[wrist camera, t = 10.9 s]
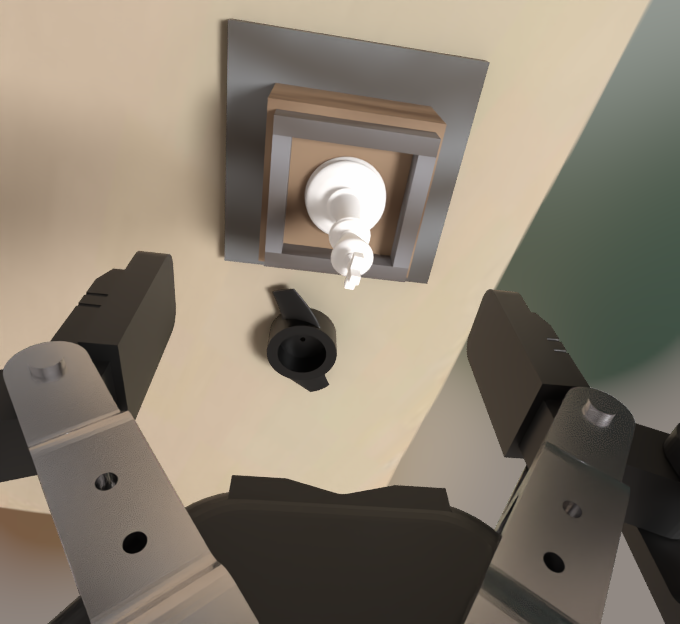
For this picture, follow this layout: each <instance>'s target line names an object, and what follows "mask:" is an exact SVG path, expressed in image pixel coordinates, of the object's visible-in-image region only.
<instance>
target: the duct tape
mask: <svg viewBox="0 0 680 624" xmlns="http://www.w3.org/2000/svg"><path fill="white" fill-rule="evenodd" d="M273 294H274V296H275V299H276V301H277V303H278V306H279V309H280V312H281V314H280V315H279V316H278V317H277V318H276V319H275V320H274V321H273V323H272V325H271V329H270V335H269V341H268V347H267V357H268V361H269V363H270V365H271V366H272V367H273V368H274V370H275V371H277V372H278V373H279V374H281V375H283V376H285V377H287V378H290V379H291V380H293V381H294V382H296V383H298V384H299V385H301V386H302V387H304V388H305V389H307V390H308V391H310V392H313V391H317V390H320V389H323V388H325V387H327V386H328V385H329V383H328V381H327V379H326V377H325V375H324V374H325V373H327V372H328V371H329V370H330V369H331V368H332V367H333V365H334V363H335V361H336V356H337V348H336V330H335V327H334V324H333V323H332V321H331V320H330V319H329V318H328V317H327V316H326V315H325V314H323V313H322V312H320V311H318V310H315V309H312V308H309V306H308V305H307V304H306V302H305V301H304V300H303V299H302V298H301V296H300V295H299V294H298V293H297V292H296V291H295V289H283V290H277V291H273Z"/></svg>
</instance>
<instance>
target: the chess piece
mask: <svg viewBox="0 0 680 624" xmlns="http://www.w3.org/2000/svg"><path fill="white" fill-rule="evenodd" d="M385 203H386V189H385V184H384V182H383V179H382V177H381V175H380V174H379V173H378V171H377V170H376V169H375V168H374V167H373V166H372V165H370V164H369V163H367V162H366V161H364V160H361V159H358V158H354V157H338V158H334V159H331V160H328V161H326V162H325V163H323V164H322V165H320V166H319V167H318V168H317V169H316V170H315V171H314V172H313V173H312V175H311V176H310V178H309V180H308V182H307V185H306V188H305V205H306V208H307V211H308V214H309V216H310V218H311V220H312V221H313V223H314V224H315V225H316V226H317V227H318V228H319V229H320V230H322V231H323V232H325V233H327V234H329V241H330V244H331V246H332V247H333V250H332V253H331V263H332V266H333V268H334V269H335V270H336V271H337V272H338V273H339V274H341V275H343V276H346V278H345V282H344V288H346V289H351V290H354V287H355V285H359V282H360V279H361V275H362V274H364V273H365V272H367V271H368V270H369V268H370V267H371V265H372V263H373V251H372V249H371V247H370V246H369V242H370V237H371V234H370V229H371V228H373V227H374V226H375V225H376V223H377V222H378V221H379V219H380V218H381V216H382V214H383V211H384V208H385Z"/></svg>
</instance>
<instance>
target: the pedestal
mask: <svg viewBox="0 0 680 624" xmlns="http://www.w3.org/2000/svg"><path fill="white" fill-rule="evenodd" d="M489 63H490V62H488V61H485V60H480V59H474V58H468V57H462V56H456V55H449V54H443V53H437V52H431V51H425V50H419V49H413V48H407V47H401V46H395V45H389V44H382V43H376V42H370V41H364V40H358V39H352V38H346V37H340V36H334V35H328V34H322V33H315V32H309V31H303V30H297V29H291V28H285V27H279V26H273V25H267V24H261V23H255V22H249V21H242V20H236V19H228V61H227V129H226V197H225V260H226V261H234V262H243V263H252V264H261V265H264V266H268V267H277V268H286V269H294V270H303V271H312V272H321V273H329V274H338V275H341V274H339V273H338V272H337V271H336V270H335V269H334V268H333V266H332V263H331V253H332V250H333V247H332V246H331V244H330V241H329V234H327V233H325V232H323V231H322V230H320V229H319V228H318V227H317V226H316V225H315V224H314V223H313V221H312V220H311V218H310V216H309V214H308V211H307V208H306V205H305V188H306V185H307V182H308V180H309V178H310V176H311V175H312V173H313V172H314V171H315V170H316V169H317V168H318V167H319V166H320V165H322V164H323V163H325V162H326V161H328V160H331V159H334V158H338V157H354V158H358V159H361V160H364V161H366V162H367V163H369V164H370V165H372V166H373V167H374V168H375V169H376V170H377V171H378V173H379V174H380V175H381V177H382V179H383V182H384V184H385V189H386V203H385V208H384V211H383V214H382V216H381V218H380V219H379V221H378V222H377V223H376V225H375V226H374V227H373V228H371V229H370V234H371V237H370V242H369V246H370V247H371V249H372V251H373V263H372V265H371V267H370V268H369V270H368V271H367V272H365V273H364V274H362V275H361V277H364V278H373V279H382V280H390V281H399V282H405V281H409V282H417V283H426V284H427V282H428V279H429V275H430V272H431V268H432V265H433V261H434V258H435V254H436V251H437V247H438V243H439V240H440V236H441V233H442V229H443V226H444V222H445V219H446V215H447V212H448V208H449V204H450V201H451V197H452V194H453V190H454V187H455V183H456V180H457V176H458V173H459V169H460V165H461V162H462V158H463V155H464V151H465V148H466V144H467V141H468V137H469V134H470V130H471V126H472V123H473V119H474V116H475V112H476V109H477V105H478V102H479V98H480V95H481V91H482V88H483V84H484V80H485V77H486V73H487V70H488V66H489Z"/></svg>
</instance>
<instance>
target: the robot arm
mask: <svg viewBox="0 0 680 624" xmlns="http://www.w3.org/2000/svg"><path fill="white" fill-rule="evenodd" d="M175 315H176V303H175V288H174V273H173V261H172V257H171V255H170V254H162V253H153V252H144V251H138V252H136V254H135V255H134V257H133V258H132V260H131V261H130V263H129V264H128V266H127V267H126V269H125V270H122V269H112V270H110V271H109V272H107V273H105V274H104V275H102V276H100V277H99V278H97V279H96V280H95V281H94V283H93V284H92V285H91V287H90V288H89V289H88V291H87V292H86V295H84V296H83V298H82V299H81V300H80V302H79V305H78V306H76V307H75V308H74V310H73V311H72V312H71V314H70V315H69V317H68V318H67V319H66V321H65V322H64V323H63V325H62V326H61V327H60V329H59V330H58V331H57V333H56V334H55V336H54V337H53V338H52V340H51V341H50V342H44V343H40V344H36V345H33V346H30V347H28V348H26V349H23V350H22V351H20V352H18V353H17V354H15V355H14V356H13V357H12V358H11V359H10V360H9V361H8V362H7V363H6V365H5V367H4V369H3V370H0V482H4V481H9V480H14V479H19V478H24V477H29V476H34V475H38V478H39V481H40V484H41V487H42V489H43V492H44V495H45V498H46V501H47V504H48V506H49V509H50V512H51V515H52V518H53V520H54V523H55V526H56V528H57V532H58V535H59V537H60V540H61V543H62V546H63V549H64V552H65V554H66V557H67V560H68V563H69V566H70V569H71V571H72V574H73V577H74V580H75V583H76V586H77V589H78V591H79V594H80V596H79V597H78V598H77V599H75V600H74V601H73V602H72V603H71V604H70V605H68V606H67V607H66V608H65V609H64V610H63V611H62V612H60V613H59V614H58V615H57V616H56V617H55V618H54V619H53V620H51V621H50V622H49V623H48V624H601V621H602V616H603V612H604V607H605V603H606V599H607V594H608V590H609V585H610V581H611V577H612V572H613V567H614V563H615V559H616V554H617V550H618V545H619V541H620V537H621V532H622V533H623V535H624V537H625V539H626V541H627V543H628V546H629V548H630V550H631V552H632V554H633V556H634V558H635V560H636V563H637V565H638V567H639V569H640V571H641V573H642V575H643V577H644V580H645V582H646V584H647V586H648V588H649V590H650V592H651V594H652V596H653V599H654V601H655V603H656V605H657V607H658V609H659V611H660V613H661V616H662V618H663V620H664V622H665V624H680V423H679V424H678V425H677V426H676V427H675V429H674V430H673V431H672V433H671V434H668V433H665V432H662V431H659V430H655V429H652V428H649V427H646V426H643V425H639V424H636V423H635V420H634V417H633V415H632V414H631V412H630V411H629V410H628V408H627V407H626V406H625V405H623V403H621V402H620V401H619V400H617V399H616V398H614V397H613V396H611V395H609V394H607V393H605V392H603V391H600V390H598V389H594V388H590V386H589V385H588V383H587V382H586V380H585V379H584V377H583V375H582V374H581V372H580V371H579V369H578V368H577V366H576V364H575V363H574V361H573V360H572V358H571V357H570V355H569V353H566V349H565V347H564V346H563V344H562V342H559V338H558V336H557V335H556V333H555V331H554V330H553V328H552V327H551V325H549V324H548V323H547V322H546V321H545V320H543V319H542V318H541V317H540V316H539V315H537V314H536V313H533V312H531V311H530V310H529V308H528V306H527V305H526V303H525V301H524V300H523V298H522V296H521V295H520V294H519V293H517V292H511V291H501V290H492V289H489V290H487V291H486V293H485V294H484V296H483V299H482V301H481V304H480V307H479V310H478V312H477V315H476V318H475V320H474V323H473V326H472V328H471V331H470V334H469V337H468V341H467V357H468V360H469V363H470V366H471V368H472V371H473V374H474V377H475V379H476V382H477V384H478V387H479V390H480V393H481V395H482V398H483V401H484V403H485V406H486V409H487V412H488V414H489V417H490V420H491V422H492V425H493V428H494V430H495V433H496V436H497V439H498V441H499V444H500V447H501V449H502V452H503V454H504V457H509V458H523V459H524V460H525V462H526V467H525V468H524V470H523V472H522V474H521V476H520V478H519V480H518V482H517V484H516V486H515V488H514V490H513V492H512V494H511V496H510V498H509V500H508V503H507V504H506V507H505V509H504V511H503V513H502V515H501V517H500V519H499V521H498V523H497V525H496V527H495V529H492V528H491V527H490V526H488V525H487V524H485V523H484V522H482V521H481V520H479V519H478V518H476V517H474V516H472V515H470V514H468V513H466V512H464V511H462V510H459V509H457V508H454V507H451V506H450V505H449V501H448V497H447V493H446V489H445V488H429V487H414V486H398V485H394V486H388V487H383V488H377V489H372V490H366V491H361V492H355V493H350V494H337V493H333V492H330V491H327V490H323V489H320V488H317V487H313V486H310V485H307V484H303V483H300V482H296V481H293V480H290V479H286V478H270V477H254V476H238V475H232V479H231V484H230V490H229V492H227V493H222V494H217V495H214V496H211V497H207V498H204V499H202V500H200V501H197V502H195V503H193V504H191V505H189V506H187V507H184V505H183V503H182V502H181V500H180V498H179V496H178V495H177V493H176V491H175V489H174V488H173V486H172V484H171V482H170V481H169V479H168V477H167V475H166V474H165V472H164V470H163V468H162V467H161V465H160V463H159V461H158V460H157V458H156V456H155V454H154V453H153V451H152V449H151V448H150V446H149V444H148V442H147V441H146V439H145V437H144V435H143V434H142V432H141V430H140V428H139V427H138V425H137V423H136V421H135V419H136V417H137V414H138V412H139V410H140V407H141V405H142V403H143V400H144V398H145V395H146V393H147V391H148V388H149V386H150V383H151V381H152V379H153V376H154V374H155V371H156V369H157V367H158V364H159V362H160V360H161V357H162V355H163V352H164V350H165V348H166V345H167V343H168V340H169V338H170V336H171V333H172V331H173V327H174V323H175Z"/></svg>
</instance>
